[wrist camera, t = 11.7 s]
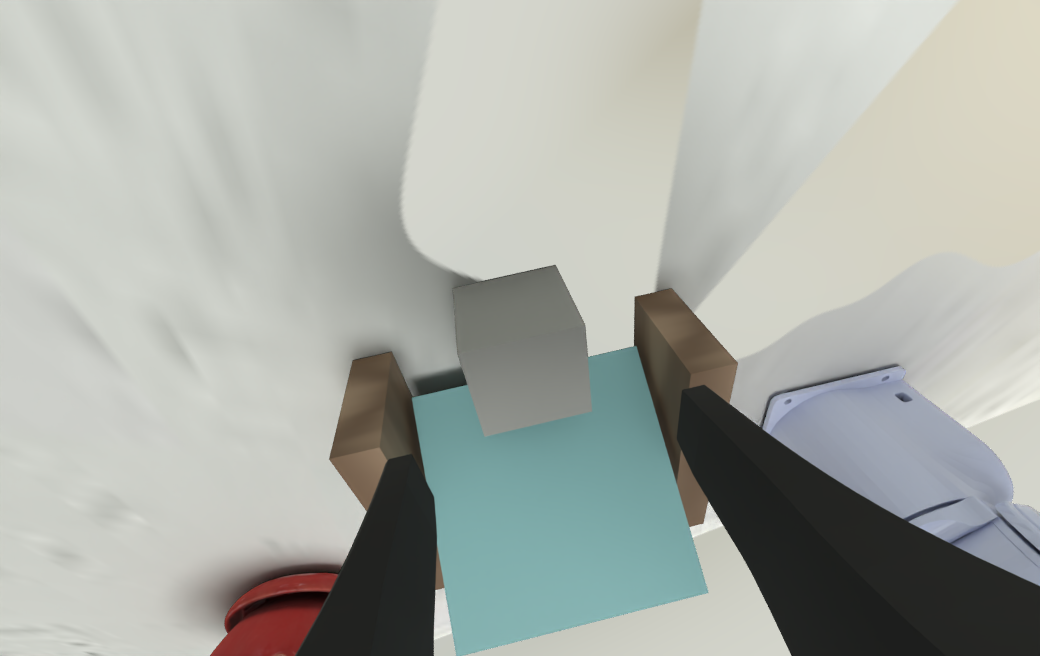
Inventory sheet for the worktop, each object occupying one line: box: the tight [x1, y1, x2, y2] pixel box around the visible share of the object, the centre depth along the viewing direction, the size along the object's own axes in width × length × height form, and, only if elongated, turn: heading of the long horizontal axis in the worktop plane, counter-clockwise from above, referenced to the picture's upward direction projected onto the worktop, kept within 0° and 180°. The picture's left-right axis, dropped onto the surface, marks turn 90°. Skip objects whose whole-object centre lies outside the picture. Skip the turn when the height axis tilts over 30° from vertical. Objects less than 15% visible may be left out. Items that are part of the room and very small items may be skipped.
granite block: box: [453, 265, 592, 437], centre depth 20 cm, size 5×5×5 cm
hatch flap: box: [412, 346, 708, 656], centre depth 22 cm, size 12×12×3 cm
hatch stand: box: [329, 289, 738, 590], centre depth 24 cm, size 17×15×6 cm
